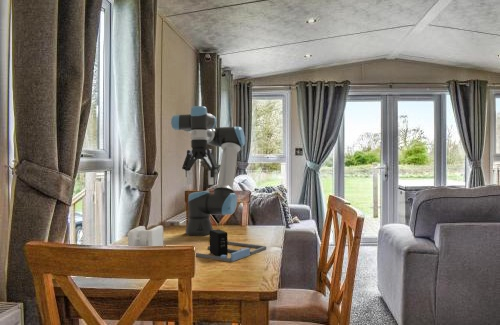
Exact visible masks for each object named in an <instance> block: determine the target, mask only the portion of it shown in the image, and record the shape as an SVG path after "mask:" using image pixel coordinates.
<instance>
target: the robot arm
mask: <svg viewBox="0 0 500 325" xmlns="http://www.w3.org/2000/svg"><path fill="white" fill-rule="evenodd" d="M170 120H171V121H170V122H171V123H170V124H171V128H172V129H173V130H175V131H180V130H181V131H184V132H187V133H188V134H190V136H191V141H190V143H191V144H190V146H191V148H192V149H187V150H186V156H185V159H184V162H183V164H182V170H184V171H185V178H186V185H192V183H193V182H192V180H193V176H192V171H193V170H192V169H193V168H192V167H193V166H194V164H195V162H196V161H197V160H203V162H204V164H205V165H206V166H207V168H208V169H209V170H208V171H207V173H208V174H207V175H208V176H207V177H208V179H207V180H208V186H209V185H210V186H212V185H215V183H214V181H215V180H214V178H215V177H216V176H215V175H216V174H215V171H216V170H218V169H219V174H218V179H217V185H216V187H215V188H214V189H213V192H212V193H211V192H210V190H203V191H196V192H191V193H189V194H188V198H187V199H188V200H187V202H188V204H187V205H188V206H187V207H188V208H187V209H188V222H187V224H186V228H185V234H186V236H187V235H188V236H197V237H198V236H208V235H209V236H210V233H209V232H210V230H214V228H213V224H212V222H211V216H210V215H215V216H231V215H233V214H234V213H235V212H236V209H237V205H238V195H237V194H236V193H235V190H234V189H233V188H234V187H233V186H234V181H235V174H236V165H237V160H238V154H239V152H240V151H241V150H242V147H244V146H245V145H246V137H245V132H244V129H243V128H242V127H241V126H221V127H220V126H219V127H216V126H217V118H216V116H215V115H214V114H211V113H208V108H207V107H206V106H203V105H202V106H201V105H200V106H199V105H195V106H192V107H190V114H189V113H188V114H176V115H172V117H171V119H170ZM209 145H210V146H212V147H217V148H218V147H219V148H221V150H222V154H221V159H220V160H221V161H220V167H219V166H218V164H217V160H216V159H215V156H214V154H213V152H214V151H213V149H212V148H211V149H210V148H208V146H209Z"/></svg>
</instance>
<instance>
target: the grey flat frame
mask: <svg viewBox="0 0 500 325" xmlns="http://www.w3.org/2000/svg"><path fill="white" fill-rule="evenodd" d="M228 245H230V246H231V245H232V246H238V247H239V246H240V247H246V248H240V249H233V248H228V253H230V257H228V256H227V255H221V257H220V256H214V255H212V254H206V253H200V252H195V253H196V256H195V257H197V258H203V259H211V260H215V261H222V262H223V261H224V262H229V263H230V262H235V261H237V260H240V259H241V260H242V259H244V258H247V257H249V256H252V255H255V254H256V253H260V252H263V251H266V250H267V246H266V245H260V244H253V243H244V242H239V241H238V242H237V241H230V240H229V241H228ZM251 248H255V249H254V250H253V249H252V250H251ZM207 250H210V245H208V246H207Z"/></svg>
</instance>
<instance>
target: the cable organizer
mask: <svg viewBox="0 0 500 325" xmlns="http://www.w3.org/2000/svg"><path fill="white" fill-rule="evenodd" d="M162 245H163V246H164V226H163V225H156V226H154V227H153V228H150V229H146V227H145V225H139V226H137V227H135V228H133V229H130V230H129V231H128V233H127V247H128V246H162Z"/></svg>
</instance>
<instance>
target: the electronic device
mask: <svg viewBox="0 0 500 325" xmlns="http://www.w3.org/2000/svg"><path fill="white" fill-rule="evenodd" d="M209 233H210V234H209V246H210V249H209V253H210V255H214V256H220V257H221V255H227V257H228V256H229V255H228V253H229V252H228V249H229V248H228V247H229V244H228V232H226V231H224V230H222V229H220V228H219V229H213V230H210V232H209Z"/></svg>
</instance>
